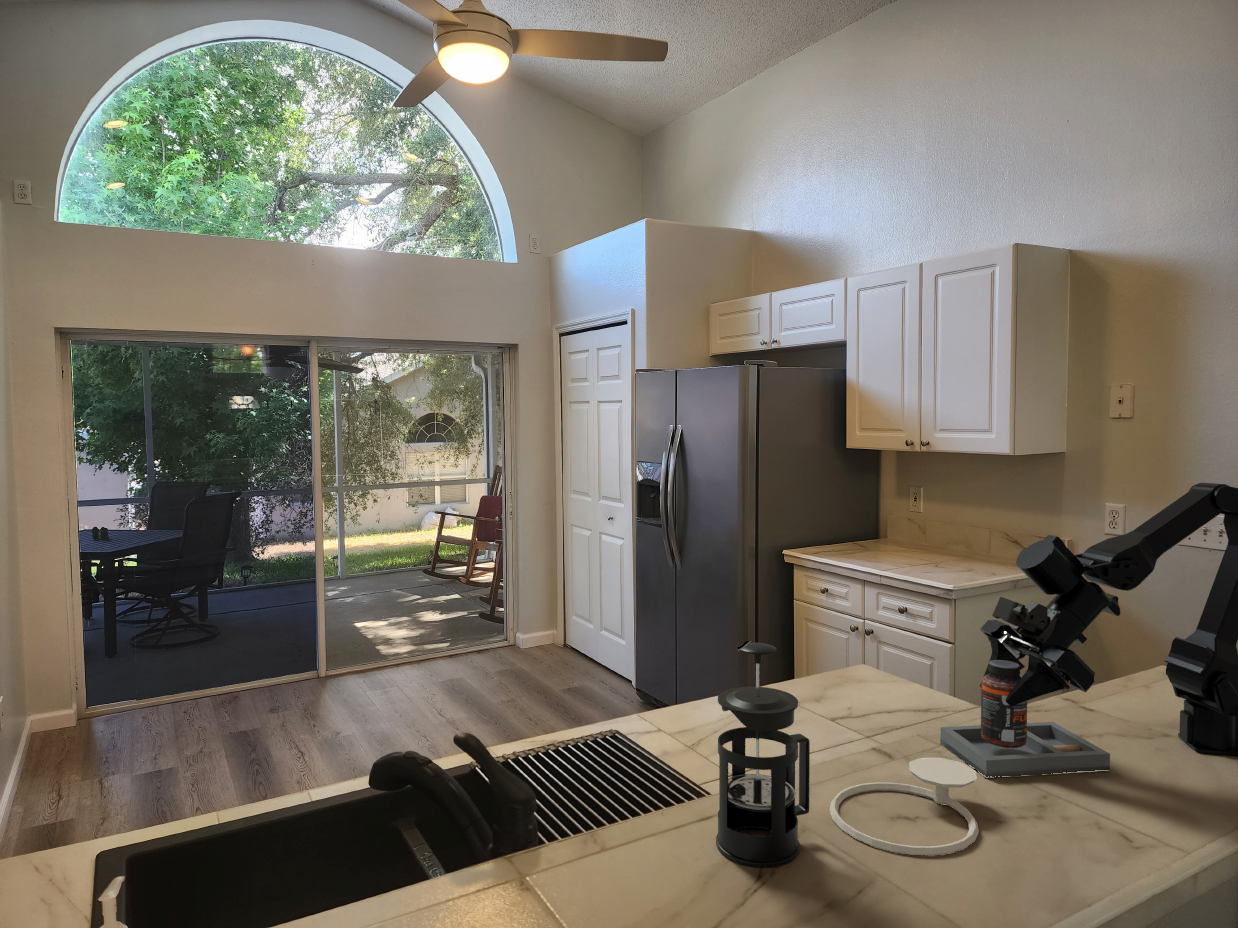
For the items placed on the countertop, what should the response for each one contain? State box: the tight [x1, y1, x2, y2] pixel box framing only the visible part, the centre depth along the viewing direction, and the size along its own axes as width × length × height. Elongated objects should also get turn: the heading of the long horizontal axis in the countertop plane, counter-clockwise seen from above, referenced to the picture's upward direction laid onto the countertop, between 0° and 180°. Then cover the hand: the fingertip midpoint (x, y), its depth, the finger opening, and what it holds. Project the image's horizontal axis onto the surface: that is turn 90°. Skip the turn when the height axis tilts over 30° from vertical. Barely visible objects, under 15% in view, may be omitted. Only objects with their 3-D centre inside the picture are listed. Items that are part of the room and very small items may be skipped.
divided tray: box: [939, 721, 1111, 777], centre depth 113 cm, size 18×12×2 cm, turn 96°
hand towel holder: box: [829, 757, 980, 857], centre depth 96 cm, size 17×4×21 cm
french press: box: [715, 642, 811, 868], centre depth 89 cm, size 12×9×23 cm
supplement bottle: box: [980, 660, 1028, 748], centre depth 112 cm, size 6×6×11 cm
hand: (994, 695), depth 112 cm, fingers closed on supplement bottle, 6 cm apart
